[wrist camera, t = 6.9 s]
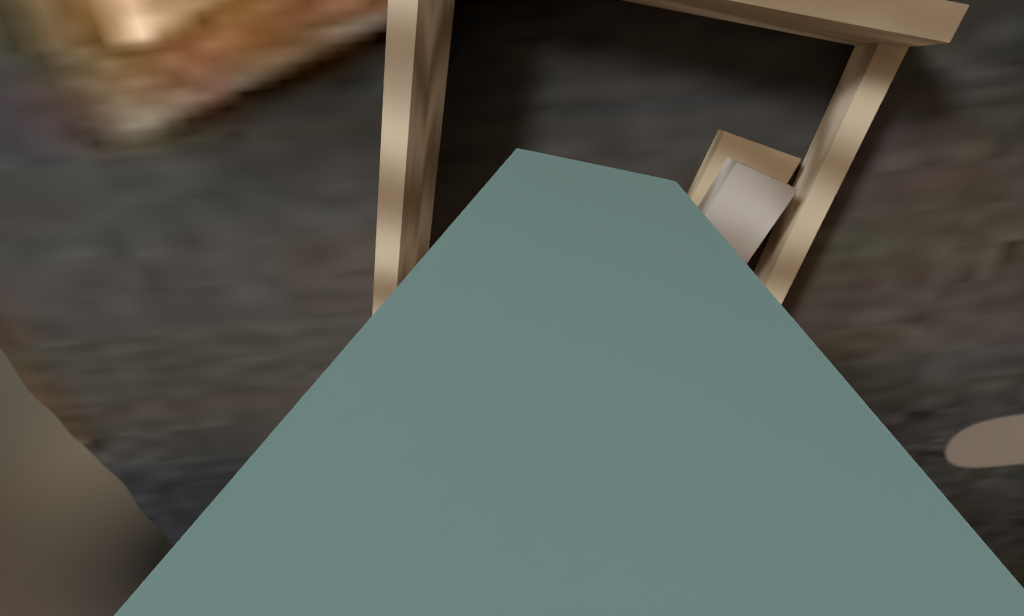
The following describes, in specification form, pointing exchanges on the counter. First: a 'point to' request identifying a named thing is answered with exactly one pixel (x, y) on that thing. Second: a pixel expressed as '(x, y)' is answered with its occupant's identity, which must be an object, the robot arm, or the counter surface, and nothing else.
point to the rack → (763, 3)
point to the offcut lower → (744, 153)
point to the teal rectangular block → (580, 443)
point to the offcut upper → (744, 205)
